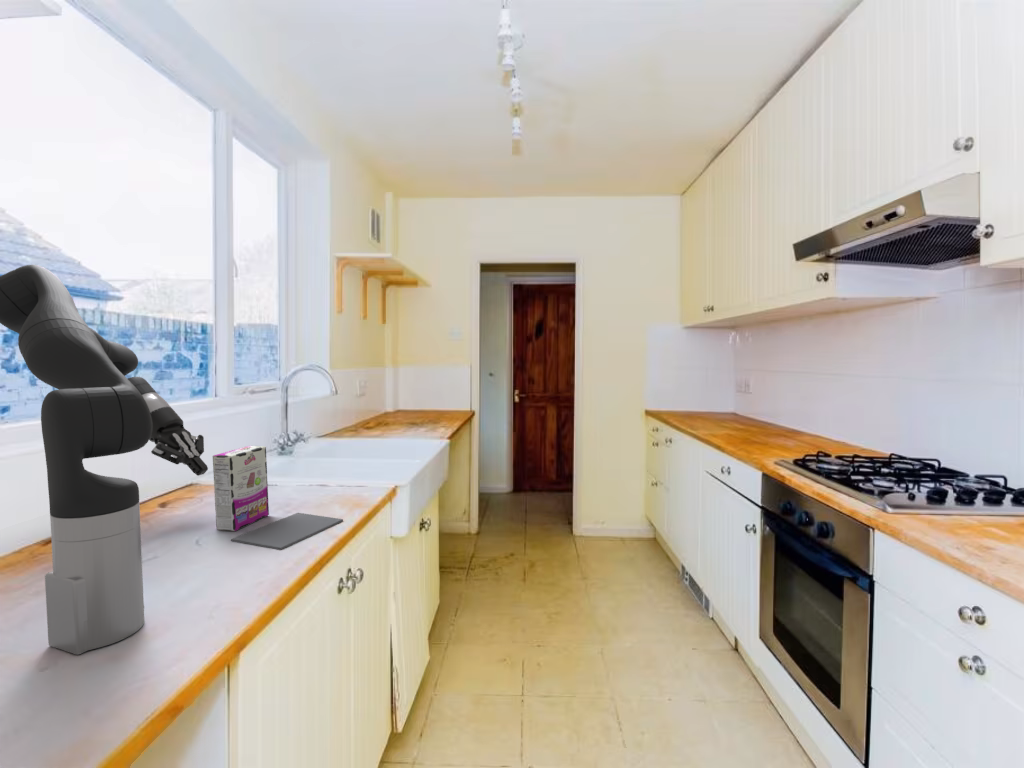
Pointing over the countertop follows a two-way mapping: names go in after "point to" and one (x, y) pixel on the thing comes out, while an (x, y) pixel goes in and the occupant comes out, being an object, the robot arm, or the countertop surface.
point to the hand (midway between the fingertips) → (203, 472)
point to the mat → (287, 531)
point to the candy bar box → (240, 487)
